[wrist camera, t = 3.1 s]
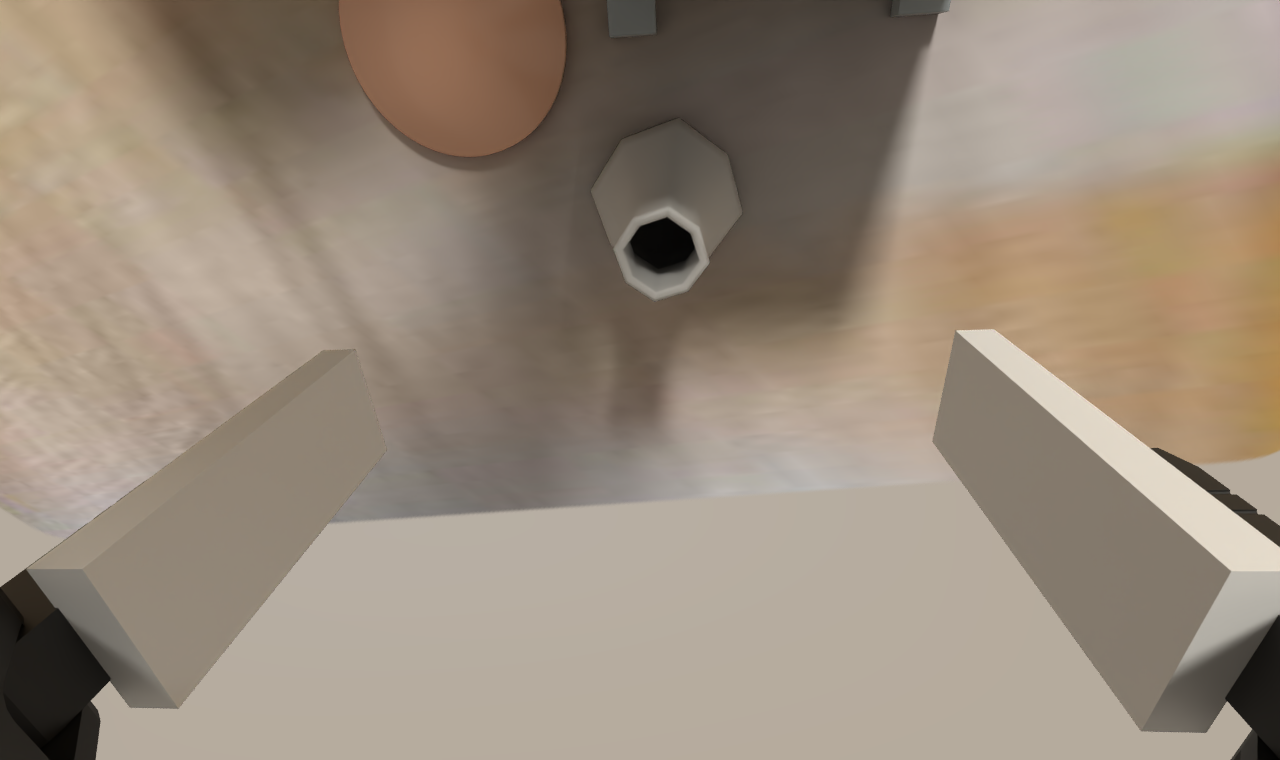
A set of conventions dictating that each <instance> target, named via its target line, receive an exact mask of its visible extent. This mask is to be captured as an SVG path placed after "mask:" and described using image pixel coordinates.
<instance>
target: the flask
mask: <svg viewBox="0 0 1280 760" xmlns="http://www.w3.org/2000/svg"><path fill="white" fill-rule="evenodd" d="M590 191H591V194H592V197H593V199H594V202H595V205H596V207H597V210H598V213H599V216H600V218H601V221H602V224H603V226H604V229H605V232H606V234H607V237H608V240H609V242H610V245H611V246H613V251H614V253H615V256H616V259H617V261H618V264H619V267H620V269H621V272H622V275H623V277H624V280H625V283H627V284H628V285H630V286H631V287H633V288H634V289H636V290H637V291H639V292H640V293H642V294H643V295H645V296H646V297H648V298H649V299H651V300H652V301H654V302H656V301H659V300H662V299H666V298H669V297H672V296H675V295H679V294H682V293H685V292H688V291H689V290H690V288H691V287H692V286H693V284H694V283H695V282H696V280H697V279H698V278H699V276H700V275H701V274H702V273H703V271H704V270H705V269H706V267H707V266H708V265H709V263H710V261H709V257H710V256H711V254H712V253H713V252H714V250H715V249H716V248H717V246H718V245H719V244H720V243H721V241H722V240H723V239H724V237H725V236H726V235H727V233H728V232H729V231H730V229H731V228H732V227H733V225H734V224H735V223H736V221H737V220H738V219H739V217H740V216H741V215H742V213H743V211H742V207H741V203H740V200H739V196H738V192H737V188H736V184H735V180H734V176H733V173H732V169H731V165H730V161H729V157H728V154H726V153H725V152H724V151H722V150H721V149H720V148H718V147H717V146H716V145H714V144H713V143H712V142H710V141H709V140H708V139H707V138H705V137H704V136H703V135H701V134H700V133H699V132H697V131H696V130H695V129H693V128H692V127H691V126H689V125H688V124H687V123H685V122H684V121H683V120H681V119H680V118H677V119H674V120H671V121H669V122H666V123H663V124H661V125H658V126H655V127H653V128H650V129H647V130H645V131H642V132H639V133H637V134H634V135H631V136H629V137H626V138H623V139H621V141H620V143H619V144H618V146H617V147H616V149H615V151H614V152H613V154H612V156H611V157H610V159H609V161H608V162H607V164H606V166H605V167H604V169H603V171H602V172H601V174H600V176H599V177H598V179H597V180H596V182H595V184H594V185H593V187H592V189H591V190H590Z"/></svg>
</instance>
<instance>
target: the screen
mask: <svg viewBox="0 0 1280 760" xmlns="http://www.w3.org/2000/svg"><path fill="white" fill-rule="evenodd" d="M950 2H951V0H892V8H891V16H890V17H899V16H913V15H926V14H939V13H943V12H947V11H949V8H950ZM607 11H608V25H609V37H611V38H620V37H634V36H647V35H657V29H656V4H655V0H607Z"/></svg>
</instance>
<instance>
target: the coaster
mask: <svg viewBox="0 0 1280 760" xmlns="http://www.w3.org/2000/svg"><path fill="white" fill-rule="evenodd" d="M339 18H340V27H341V32H342V37H343V42H344V46H345V49H346V52H347V55H348V58H349V61H350V64H351V66H352V68H353V71H354V73H355V75H356V77H357V79H358V81H359V83H360V84H361V86H362V88H363V90H364V92H365V93H366V94H367V96H368V97H369V99H370V100H371V102H372V103H373V104H374V106H375V107H376V108H377V109H378V110H379V112H380V113H381V114H382V115H383V116H384V117H385V118H386V119H387V120H388V121H389V122H390V123H391V124H392V125H393V126H394V127H395V128H396V129H398V130H399V131H400V132H402V133H403V134H404V135H406V136H407V137H409V138H410V139H412V140H414V141H415V142H417V143H419V144H420V145H423V146H425V147H427V148H429V149H432V150H434V151H437V152H441V153H444V154H448V155H454V156H460V157H477V156H484V155H490V154H493V153H496V152H500V151H502V150H505V149H507V148H509V147H511V146H513V145H515V144H517V143H518V142H520V141H521V140H523V139H525V138H526V137H527V136H528V135H529V134H531V133H532V132H533V131H534V130H535V129H536V128H537V127H538V126H539V124H540V123H541V122H542V121H543V120H544V118H545V117H546V115H547V114H548V112H549V111H550V109H551V107H552V106H553V104H554V101H555V99H556V97H557V95H558V93H559V89H560V86H561V83H562V80H563V75H564V70H565V64H566V53H567V36H566V24H565V18H564V12H563V8H562V4H561V1H560V0H339Z"/></svg>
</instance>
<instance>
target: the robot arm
mask: <svg viewBox="0 0 1280 760" xmlns="http://www.w3.org/2000/svg"><path fill="white" fill-rule="evenodd" d="M932 442H933V443H934V444H935V446H936V447H937V449H938V450H939V451H940V453H941V454H942V455H943V457H944V458H945V460H946V461H947V462H948V464H949V465H950V467H951V468H952V469H953V471H954V472H955V474H956V475H957V476H958V478H959V479H960V480H961V482H962V483H963V485H964V486H965V487H966V488H967V490H968V492H969V493H970V494H971V496H972V497H973V498H974V500H975V501H976V502H977V504H978V505H979V507H980V508H981V510H982V511H983V512H984V514H985V515H986V516H987V518H988V519H989V521H990V522H991V523H992V525H993V526H994V528H995V529H996V530H997V532H998V533H999V535H1000V536H1001V537H1002V539H1003V540H1004V542H1005V543H1006V544H1007V546H1008V547H1009V548H1010V550H1011V551H1012V553H1013V554H1014V555H1015V557H1016V558H1017V560H1018V561H1019V562H1020V564H1021V565H1022V566H1023V568H1024V569H1025V571H1026V572H1027V573H1028V575H1029V576H1030V578H1031V579H1032V580H1033V582H1034V583H1035V585H1036V586H1037V587H1038V589H1039V590H1040V592H1041V593H1042V594H1043V596H1044V597H1045V598H1046V600H1047V601H1048V603H1049V604H1050V605H1051V607H1052V608H1053V610H1054V611H1055V612H1056V614H1057V615H1058V616H1059V618H1060V619H1061V620H1062V622H1063V623H1064V625H1065V626H1066V628H1067V629H1068V630H1069V632H1070V633H1071V635H1072V636H1073V637H1074V639H1075V640H1076V642H1077V643H1078V644H1079V645H1080V647H1081V648H1082V650H1083V651H1084V653H1085V654H1086V655H1087V657H1088V658H1089V660H1090V661H1091V662H1092V664H1093V665H1094V667H1095V668H1096V669H1097V670H1098V672H1099V673H1100V675H1101V676H1102V678H1103V679H1104V680H1105V682H1106V683H1107V684H1108V686H1109V687H1110V689H1111V690H1112V691H1113V693H1114V694H1115V696H1116V697H1117V698H1118V700H1119V701H1120V703H1121V704H1122V705H1123V707H1124V708H1125V709H1126V711H1127V712H1128V714H1129V715H1130V716H1131V718H1132V719H1133V721H1134V722H1135V723H1136V725H1137V726H1138V728H1139V729H1140V730H1141V731H1153V732H1196V733H1197V732H1198V733H1206V732H1207V731H1208V729H1209V728H1210V726H1211V725H1212V723H1213V722H1214V720H1215V718H1216V717H1217V716H1218V714H1219V712H1220V711H1221V709H1222V708H1223V706H1224V705H1225V703H1226V702H1227V701H1228V702H1229V703H1230V705H1231V706H1232V707H1233V708H1234V709H1235V710H1236V711H1237V712H1238V713H1239V714H1240V716H1241V717H1242V718H1243V719H1244V720H1245V721H1246V722H1247V724H1248V725H1250V727H1251V728H1252V731H1251V732H1250V733H1249V735H1248V736H1247V738H1246V739H1245V740H1244V742H1243V743H1242V745H1241V746H1240V748H1239V749H1238V750H1237V752H1236V753H1235V755H1234V756H1233V757H1232V759H1231V760H1280V526H1279V525H1278V524H1276V523H1275V522H1274V521H1272V520H1271V519H1269V518H1268V517H1267V516H1265V515H1258V514H1257V509H1256V508H1254V507H1253V506H1251V505H1250V504H1249V503H1247V502H1246V501H1245V500H1243V499H1242V498H1240V497H1239V496H1238V495H1231V494H1230V490H1229V489H1228V488H1227V487H1225V486H1224V485H1222V484H1221V483H1220V482H1218V481H1217V480H1216V479H1214V478H1213V477H1212V476H1210V475H1209V474H1207V473H1206V472H1205V471H1203V470H1202V469H1201V468H1199V467H1197V466H1195V465H1193V464H1191V463H1189V462H1187V461H1185V460H1183V459H1180V458H1178V457H1176V456H1174V455H1172V454H1170V453H1168V452H1166V451H1164V450H1161V449H1159V448H1149V447H1148V446H1146V445H1145V444H1144V443H1142V442H1141V441H1140V440H1138V439H1137V438H1136V437H1134V436H1133V435H1132V434H1131V433H1129V432H1128V431H1127V430H1125V429H1124V428H1123V427H1121V426H1120V425H1119V424H1117V423H1116V422H1115V421H1113V420H1112V419H1111V418H1110V417H1108V416H1107V415H1106V414H1104V413H1103V412H1102V411H1100V410H1099V409H1098V408H1096V407H1095V406H1094V405H1092V404H1091V403H1090V402H1089V401H1087V400H1086V399H1085V398H1083V397H1082V396H1081V395H1079V394H1078V393H1077V392H1075V391H1074V390H1073V389H1071V388H1070V387H1069V386H1068V385H1066V384H1065V383H1064V382H1062V381H1061V380H1060V379H1058V378H1057V377H1056V376H1054V375H1053V374H1052V373H1050V372H1049V371H1048V370H1047V369H1045V368H1044V367H1043V366H1041V365H1040V364H1039V363H1037V362H1036V361H1035V360H1033V359H1032V358H1031V357H1029V356H1028V355H1027V354H1026V353H1024V352H1023V351H1022V350H1020V349H1019V348H1018V347H1016V346H1015V345H1014V344H1012V343H1011V342H1010V341H1008V340H1007V339H1006V338H1005V337H1003V336H1002V335H1001V334H999V333H998V332H997V331H995V330H994V329H990V330H958V331H955V335H954V340H953V345H952V350H951V354H950V359H949V364H948V369H947V374H946V378H945V383H944V388H943V393H942V398H941V402H940V407H939V412H938V417H937V422H936V426H935V431H934V436H933V441H932ZM386 451H387V448H386V445H385V442H384V439H383V436H382V432H381V429H380V426H379V423H378V420H377V417H376V413H375V410H374V407H373V404H372V401H371V398H370V394H369V391H368V388H367V385H366V382H365V379H364V375H363V372H362V369H361V366H360V363H359V360H358V356H357V353H356V350H355V349H352V350H323V351H322V352H320V353H319V354H318V355H316V356H315V357H314V358H312V359H311V360H310V361H308V362H307V363H305V364H304V365H303V366H301V367H300V368H299V369H297V370H296V371H295V372H293V373H292V374H291V375H289V376H288V377H286V378H285V379H284V380H282V381H281V382H280V383H278V384H277V385H276V386H274V387H273V388H271V389H270V390H269V391H267V392H266V393H265V394H263V395H262V396H261V397H259V398H258V399H257V400H255V401H254V402H252V403H251V404H250V405H248V406H247V407H246V408H244V409H243V410H242V411H240V412H239V413H237V414H236V415H235V416H233V417H232V418H231V419H229V420H228V421H227V422H225V423H224V424H223V425H221V426H220V427H218V428H217V429H216V430H214V431H213V432H212V433H210V434H209V435H208V436H206V437H205V438H203V439H202V440H201V441H199V442H198V443H197V444H195V445H194V446H193V447H191V448H190V449H189V450H187V451H186V452H184V453H183V454H182V455H180V456H179V457H178V458H176V459H175V460H174V461H172V462H171V463H169V464H168V465H167V466H165V467H164V468H163V469H161V470H160V471H159V472H157V473H156V474H154V475H153V476H152V477H150V478H149V479H148V480H146V481H144V482H143V483H142V484H140V485H139V486H138V487H136V488H135V489H133V490H132V491H131V492H129V493H128V494H127V495H125V496H124V497H123V498H121V499H120V500H118V501H117V502H116V503H115V504H114V505H112V506H110V507H109V508H108V509H106V510H105V511H104V512H102V513H101V514H99V515H98V516H97V517H95V518H94V519H93V520H92V521H91V522H89V523H87V524H86V525H84V526H83V527H82V528H80V529H79V530H78V531H76V532H75V533H74V534H72V535H71V536H69V537H68V538H67V539H65V540H64V541H63V542H61V543H60V544H59V545H58V546H56V547H54V548H53V549H52V550H51V551H49V552H48V553H46V554H45V555H44V556H42V557H41V558H39V559H38V560H37V561H35V562H34V563H33V564H31V565H30V566H29V567H27V568H26V569H25V570H23V571H22V572H20V573H19V574H18V575H16V576H15V577H14V578H12V579H11V580H10V581H8V582H7V583H5V584H4V585H3V586H1V587H0V760H95V759H96V751H97V744H98V736H99V728H100V717H99V713H98V710H97V709H96V707H95V706H94V705H93V704H92V702H91V700H92V698H94V697H95V696H96V694H97V693H98V692H99V691H100V690H101V689H102V688H103V687H104V686H105V685H106V684H107V683H108V682H109V681H111V683H112V684H113V686H114V687H115V688H116V690H117V691H118V692H119V694H120V695H121V696H122V698H123V699H124V700H125V702H126V703H127V704H128V706H129V707H131V708H173V709H178V708H179V707H180V706H181V705H182V704H183V702H184V701H185V700H186V699H187V697H188V696H189V695H190V693H191V692H192V691H193V690H194V689H195V687H196V686H197V685H198V684H199V682H200V681H201V680H202V679H203V677H204V676H205V675H206V674H207V673H208V671H209V670H210V669H211V668H212V666H213V665H214V664H215V663H216V661H217V660H218V659H219V658H220V656H221V655H222V654H223V653H224V651H225V650H226V649H227V648H228V647H229V645H230V644H231V643H232V642H233V640H234V639H235V638H236V637H237V635H238V634H239V633H240V632H241V630H242V629H243V628H244V627H245V626H246V624H247V623H248V622H249V620H250V619H251V618H252V617H253V615H254V614H255V613H256V612H257V611H258V609H259V608H260V607H261V605H262V604H263V603H264V602H265V601H266V600H267V598H268V597H269V596H270V594H271V593H272V592H273V591H274V590H275V588H276V587H277V586H278V585H279V583H280V582H281V581H282V580H283V578H284V577H285V576H286V575H287V574H288V572H289V571H290V570H291V568H292V567H293V566H294V565H295V563H296V562H297V561H298V560H299V558H300V557H301V556H302V555H303V554H304V552H305V551H306V550H307V549H308V548H309V546H310V545H311V544H312V542H313V541H314V540H315V539H316V538H317V536H318V535H319V534H320V533H321V531H322V530H323V529H324V528H325V526H326V525H327V524H328V523H329V522H330V520H331V519H332V518H333V517H334V515H335V514H336V513H337V512H338V510H339V509H340V508H341V507H342V505H343V504H344V503H345V502H346V500H347V499H348V498H349V497H350V496H351V494H352V493H353V492H354V491H355V489H356V488H357V487H358V486H359V484H360V483H361V482H362V481H363V479H364V478H365V477H366V476H367V474H368V473H369V472H370V471H371V470H372V468H373V467H374V466H375V465H376V463H377V462H378V461H379V460H380V458H381V457H382V456H383V455H384V453H385V452H386Z"/></svg>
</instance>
